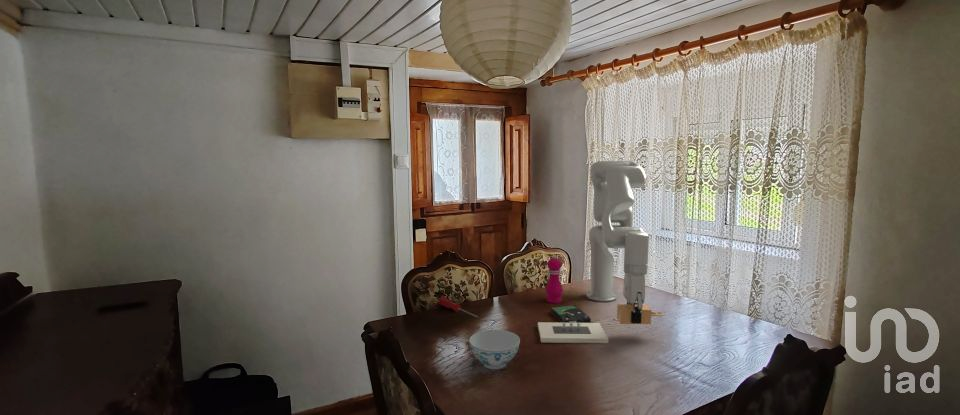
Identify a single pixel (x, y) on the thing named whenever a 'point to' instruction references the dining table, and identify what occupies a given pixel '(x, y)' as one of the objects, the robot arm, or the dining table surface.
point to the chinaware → (494, 347)
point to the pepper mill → (554, 281)
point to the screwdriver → (452, 305)
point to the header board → (571, 332)
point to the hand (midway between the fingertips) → (633, 319)
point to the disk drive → (570, 314)
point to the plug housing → (625, 314)
